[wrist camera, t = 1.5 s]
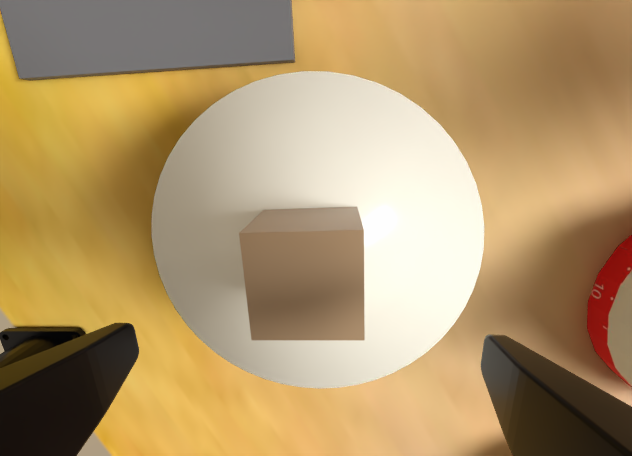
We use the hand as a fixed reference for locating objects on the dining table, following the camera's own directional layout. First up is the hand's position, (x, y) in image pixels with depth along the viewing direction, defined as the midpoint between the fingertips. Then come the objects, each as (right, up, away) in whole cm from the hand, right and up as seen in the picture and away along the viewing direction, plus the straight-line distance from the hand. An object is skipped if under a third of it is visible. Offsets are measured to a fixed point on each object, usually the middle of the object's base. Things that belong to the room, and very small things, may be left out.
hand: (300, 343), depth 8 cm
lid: (0, +2, +7) cm, 7 cm away
